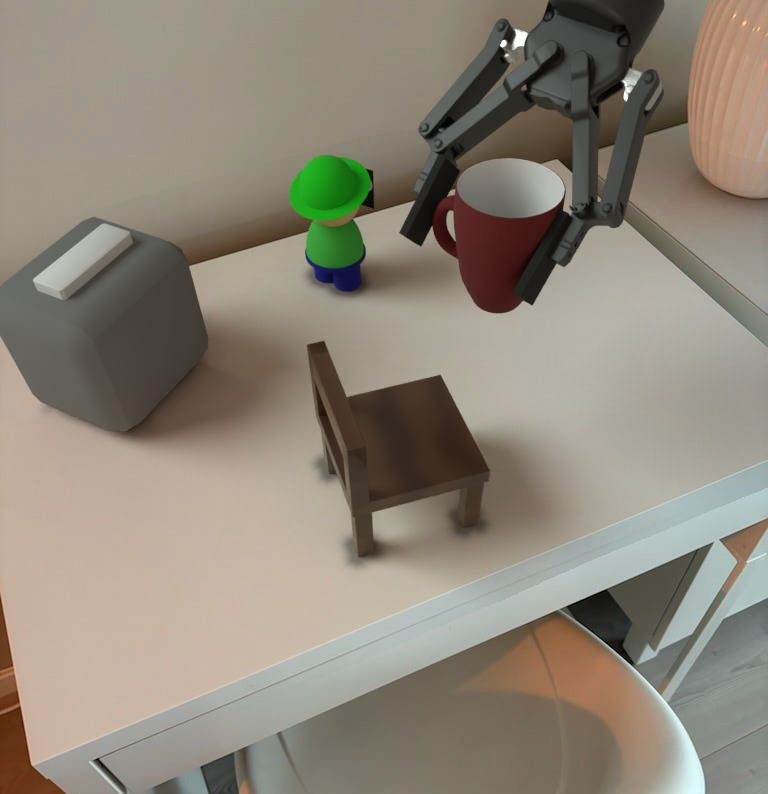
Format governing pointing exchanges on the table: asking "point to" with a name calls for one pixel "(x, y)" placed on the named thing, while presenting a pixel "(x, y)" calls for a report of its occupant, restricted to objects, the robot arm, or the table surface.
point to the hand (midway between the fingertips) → (464, 268)
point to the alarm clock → (103, 323)
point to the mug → (498, 225)
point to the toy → (333, 216)
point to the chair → (394, 446)
